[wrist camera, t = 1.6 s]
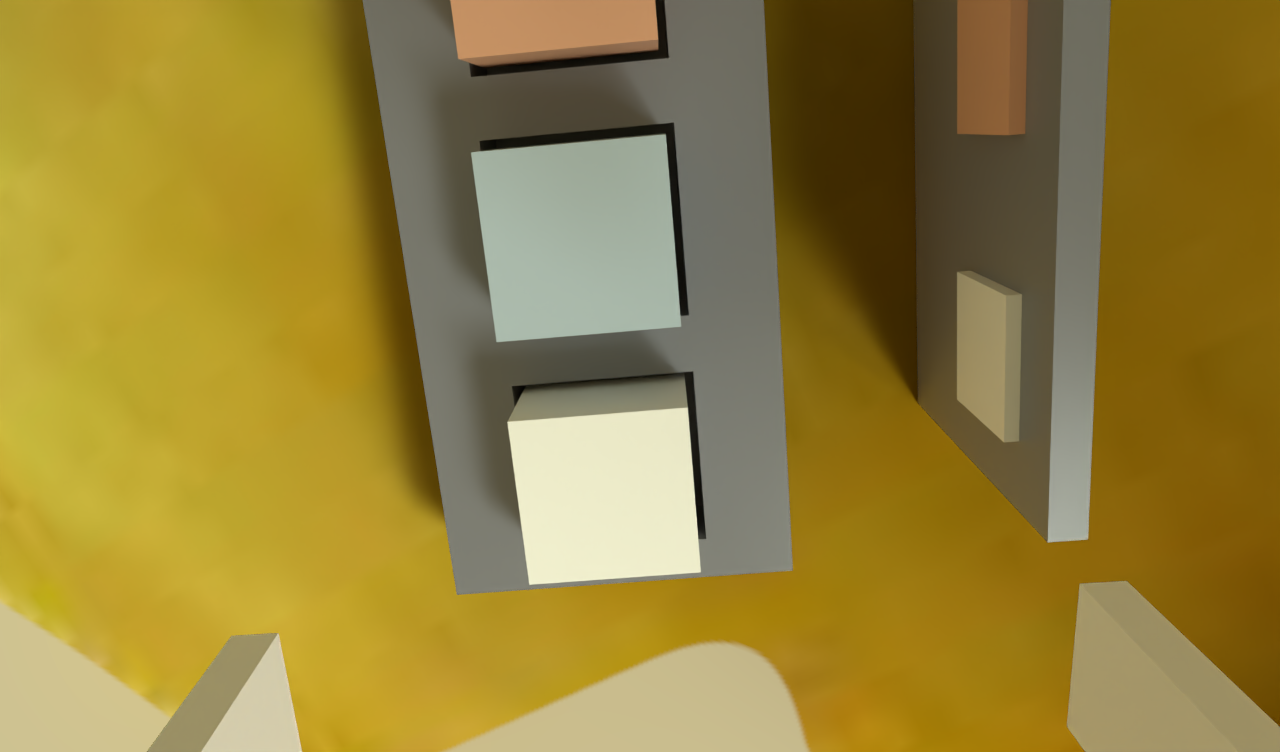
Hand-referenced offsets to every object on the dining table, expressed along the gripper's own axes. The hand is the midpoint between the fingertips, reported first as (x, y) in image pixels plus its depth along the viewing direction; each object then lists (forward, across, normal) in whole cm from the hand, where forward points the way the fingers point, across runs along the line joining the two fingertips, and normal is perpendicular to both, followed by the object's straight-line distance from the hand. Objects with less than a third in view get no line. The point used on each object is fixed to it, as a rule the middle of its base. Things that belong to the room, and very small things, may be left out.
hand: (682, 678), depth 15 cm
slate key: (+17, +2, -5) cm, 18 cm away
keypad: (+20, -2, -5) cm, 21 cm away
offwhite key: (+17, +2, +3) cm, 17 cm away
